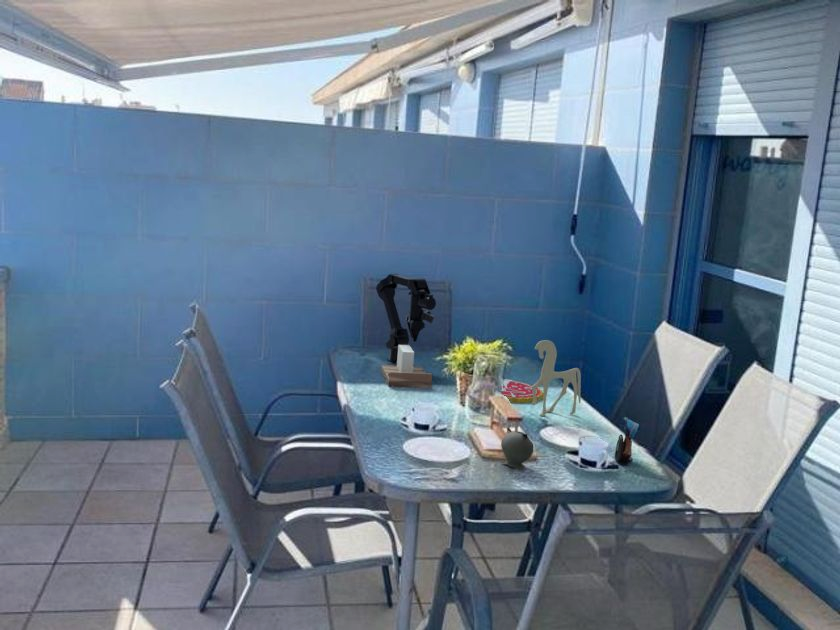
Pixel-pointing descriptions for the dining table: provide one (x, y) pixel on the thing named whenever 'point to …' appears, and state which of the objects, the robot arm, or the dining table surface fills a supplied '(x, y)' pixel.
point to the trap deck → (406, 377)
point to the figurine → (626, 443)
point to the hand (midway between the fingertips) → (413, 339)
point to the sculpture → (554, 376)
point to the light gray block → (405, 358)
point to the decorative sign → (519, 392)
